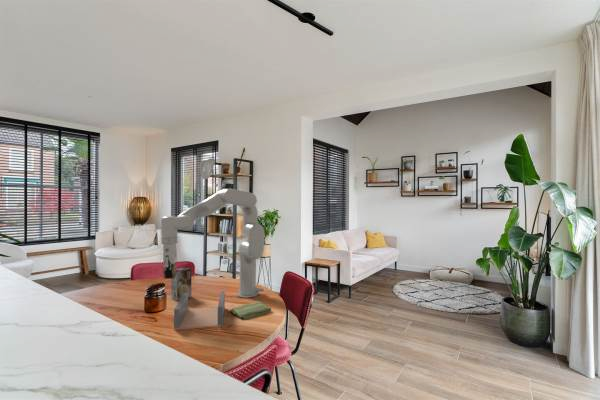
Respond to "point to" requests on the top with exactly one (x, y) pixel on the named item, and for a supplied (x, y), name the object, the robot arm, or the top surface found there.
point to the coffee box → (181, 283)
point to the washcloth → (250, 310)
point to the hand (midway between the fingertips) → (169, 276)
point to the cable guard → (198, 315)
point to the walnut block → (173, 268)
